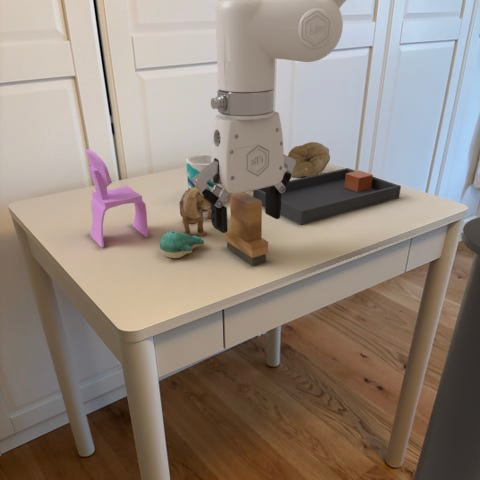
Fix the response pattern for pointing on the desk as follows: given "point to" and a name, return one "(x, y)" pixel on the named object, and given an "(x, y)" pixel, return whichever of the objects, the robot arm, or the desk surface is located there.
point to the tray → (328, 196)
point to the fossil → (309, 159)
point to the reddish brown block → (358, 181)
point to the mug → (198, 168)
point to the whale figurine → (178, 244)
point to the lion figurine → (194, 210)
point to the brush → (246, 229)
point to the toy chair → (111, 199)
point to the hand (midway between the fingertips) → (247, 222)
